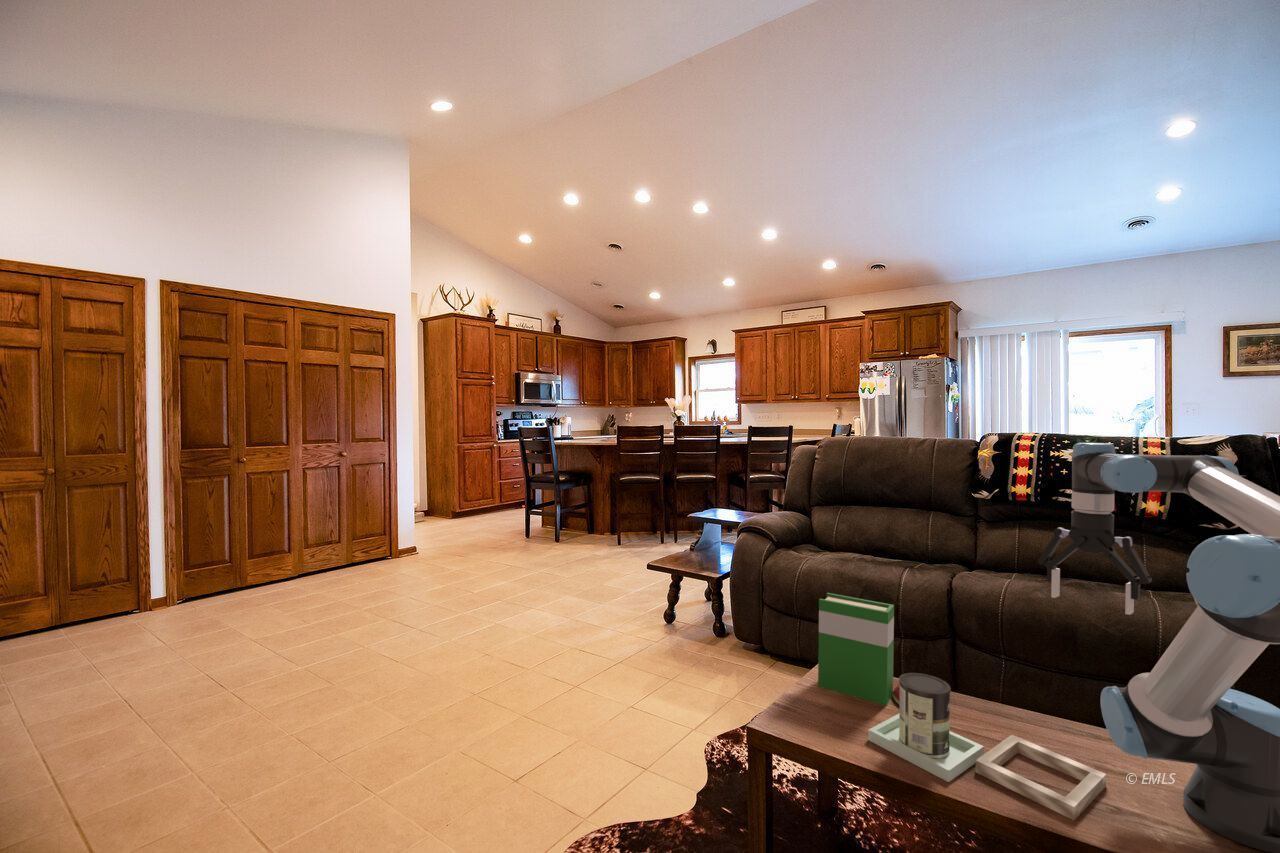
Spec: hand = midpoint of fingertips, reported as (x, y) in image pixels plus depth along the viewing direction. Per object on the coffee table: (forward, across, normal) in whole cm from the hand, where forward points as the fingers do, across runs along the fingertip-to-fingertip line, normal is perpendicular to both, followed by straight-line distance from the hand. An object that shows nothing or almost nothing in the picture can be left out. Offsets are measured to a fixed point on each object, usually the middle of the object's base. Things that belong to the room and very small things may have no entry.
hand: (1090, 604), depth 127 cm
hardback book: (+32, +45, +22) cm, 59 cm away
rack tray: (+32, +20, +33) cm, 50 cm away
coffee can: (+31, +20, +33) cm, 50 cm away
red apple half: (+32, +34, +16) cm, 49 cm away
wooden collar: (+32, +1, +24) cm, 40 cm away
